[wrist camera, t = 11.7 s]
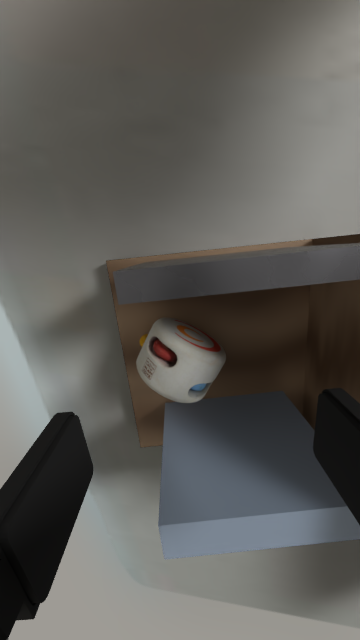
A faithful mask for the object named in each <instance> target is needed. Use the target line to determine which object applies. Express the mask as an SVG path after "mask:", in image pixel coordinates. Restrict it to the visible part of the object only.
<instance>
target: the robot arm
mask: <svg viewBox="0 0 360 640" xmlns="http://www.w3.org/2000/svg"><path fill="white" fill-rule="evenodd" d="M313 452H314V455H315V457H316V459H317V460H318V462H319V463H320V465H321V466H322V468H323V470H324V471H325V473H326V474H327V476H328V477H329V479H330V480H331V482H332V483H333V485H334V487H335V488H336V490H337V491H338V493H339V494H340V496H341V497H342V499H343V500H344V502H345V503H346V505H347V507H348V508H349V510H350V511H351V513H352V514H353V516H354V517H355V519H356V520H357V522H358V524H359V525H360V403H359V402H357V401H356V400H355V399H354V398H353V397H352V396H350V395H349V394H348V393H347V392H346V391H345V390H343V389H342V388H332V389H324V390H323V391H322V393H321V394H319V396H318V403H317V413H316V423H315V432H314V442H313ZM92 475H93V464H92V461H91V457H90V454H89V451H88V447H87V444H86V440H85V437H84V433H83V430H82V427H81V423H80V420H79V417H78V416H77V415H75V414H74V413H73V412H63V413H57V414H55V415H54V416H53V418H52V419H51V421H50V422H49V423H48V425H47V426H46V427H45V429H44V430H43V432H42V433H41V434H40V436H39V437H38V438H37V440H36V441H35V442H34V444H33V446H32V447H31V448H30V449H29V451H28V452H27V453H26V455H25V456H24V458H23V459H22V460H21V462H20V463H19V465H18V466H17V467H16V469H15V470H14V471H13V473H12V474H11V476H10V477H9V478H8V480H7V481H6V482H5V484H4V485H3V487H2V488H1V489H0V640H8V637H9V635H10V633H11V630H12V628H13V626H14V623H15V621H16V620H28V619H34V618H35V615H36V612H37V610H38V607H39V605H40V603H42V602H44V601H45V599H46V598H47V596H48V594H49V591H50V589H51V586H52V583H53V580H54V578H55V575H56V572H57V570H58V567H59V564H60V562H61V559H62V556H63V554H64V551H65V548H66V545H67V543H68V540H69V537H70V535H71V532H72V529H73V527H74V524H75V521H76V519H77V516H78V513H79V510H80V508H81V505H82V502H83V500H84V497H85V494H86V492H87V489H88V486H89V484H90V481H91V478H92Z"/></svg>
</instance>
